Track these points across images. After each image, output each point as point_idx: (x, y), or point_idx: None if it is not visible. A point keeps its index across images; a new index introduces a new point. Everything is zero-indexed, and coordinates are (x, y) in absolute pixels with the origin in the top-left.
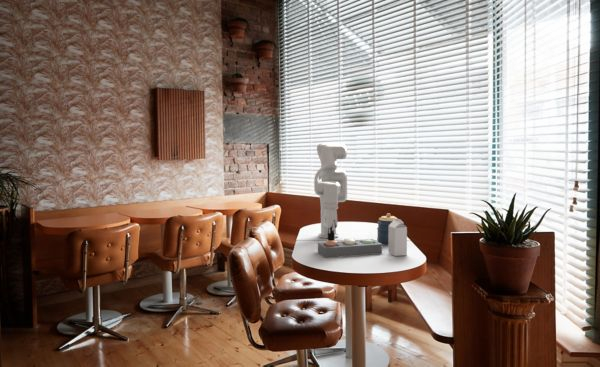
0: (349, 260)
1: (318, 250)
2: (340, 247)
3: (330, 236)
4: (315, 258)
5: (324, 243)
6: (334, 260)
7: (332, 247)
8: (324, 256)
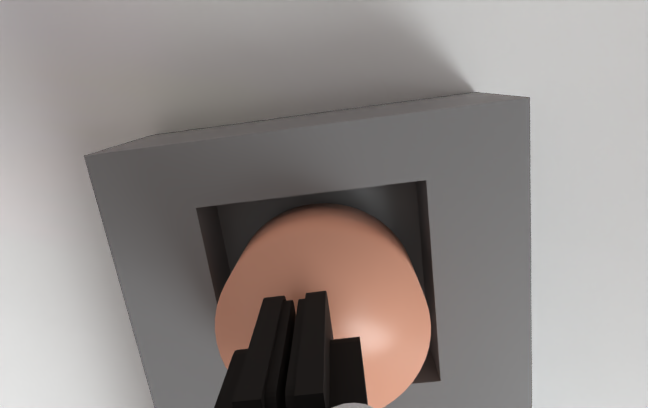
0: (40, 373)
1: (450, 97)
2: (153, 394)
3: (223, 384)
4: (127, 4)
5: (436, 211)
6: (36, 228)
7: (136, 287)
8: (156, 135)
